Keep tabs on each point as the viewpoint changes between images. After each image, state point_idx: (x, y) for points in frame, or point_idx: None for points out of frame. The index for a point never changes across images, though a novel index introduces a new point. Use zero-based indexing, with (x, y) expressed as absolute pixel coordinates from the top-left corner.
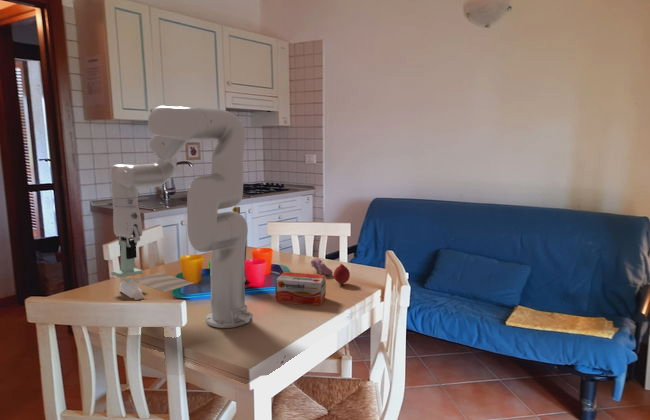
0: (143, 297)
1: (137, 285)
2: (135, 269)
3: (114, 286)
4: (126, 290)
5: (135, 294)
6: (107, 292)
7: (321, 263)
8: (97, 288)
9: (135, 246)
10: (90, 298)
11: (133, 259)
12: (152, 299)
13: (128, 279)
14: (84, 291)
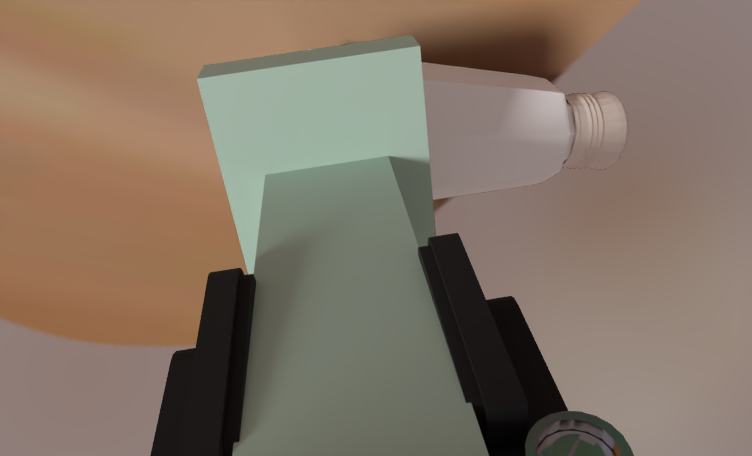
0: (608, 92)
1: (430, 82)
2: (320, 107)
3: (18, 121)
4: (461, 195)
5: (588, 164)
6: (174, 216)
7: None
8: (6, 243)
9: (519, 397)
10: None
11: (413, 243)
12: (625, 6)
13: None
14: (41, 325)
